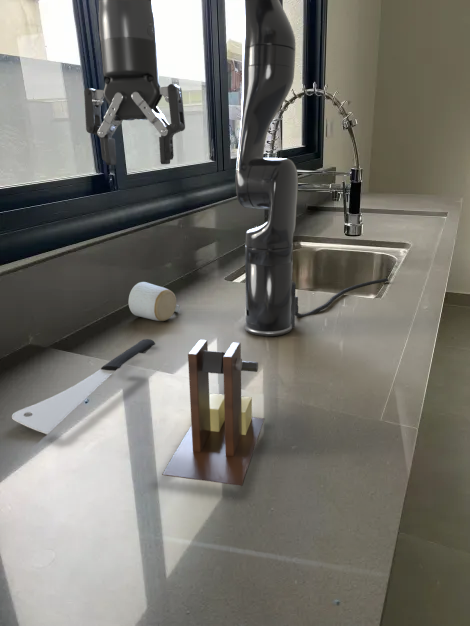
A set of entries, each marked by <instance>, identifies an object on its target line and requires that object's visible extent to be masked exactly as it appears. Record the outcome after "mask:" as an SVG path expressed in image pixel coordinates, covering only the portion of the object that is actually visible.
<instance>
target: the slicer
mask: <svg viewBox="0 0 470 626" xmlns="http://www.w3.org/2000/svg"><path fill="white" fill-rule="evenodd" d="M208 345H209V344H208V340H207V339H199V340H198V341H197V342H196V344H194V345H193V347H192V348H191V349H190V350H189V352H188V353H187V364H188V382H189V383H188V385H189V402H190V403H189V404H190V405H189V406H190V417H191V418H190V420H191V425H190V426H189V428H188V430H187V431H186V434H185V435H184V436H183V438H182V440H181V442H180V443H179V445H178V446H177V448H176V450H175V452H174V453H173V455H172V457H171V458H170V460H169V461H168V464H167V465H166V467H165V469H164V470H163V472H162V473H161V475H162V476H167V477H174V478H175V477H176V478H182V479H189V480H197V481H198V480H199V481H204V482H212V483H218V484H226V485H233V486H243V483H244V481H245V478H246V474H247V472H248V470H249V466H250V463H251V461H252V457H253V454H254V452H255V448H256V446H257V444H258V439H259V437H260V434H261V430H262V427H263V425H264V421H265V418H264V417H263V418H262V417H256V416H252V420H251V422H250V425H249V427H248V430H247V433H246V435H242V411H241V396H242V371H241V369H242V361H243V358H242V351H241V350H242V349H241V348H242V346H241V345H242V344H241V342H237V341H232V342H231V344H230V346H229V347H228V348H227V350H226V351H225V352H224V353H225V355H224V356H223V370H224V374H223V395H224V409H225V421H224V423H223V425H222V427H221V429H220V431H219V432H215V431H211V427H210V400H209V393H210V378H209V376H210V375H209V374H210V373H206V372H202V366H203V355H204V351H209V350H208V348H209V346H208Z"/></svg>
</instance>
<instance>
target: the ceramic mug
mask: <svg viewBox="0 0 470 626" xmlns="http://www.w3.org/2000/svg"><path fill="white" fill-rule="evenodd" d="M128 307H129V311H130V312H131V313H132V315H134V316H136V317H141V318H143V319H147V320H148V319H149V320H153V321H157V322H164V321H165V322H166V321H168V320H170V318H172V317H173V315H174V313H179V312H180V309H181V308H180V307H181V306H180V305H179V304H177V298H176V295H175V293H174V292H173V291H172V290H170V289H169V288H167V287H164V286H159V285H156V284H153V283H150V282H146V281H140V282H138V283H136V284H135V285H134V286H133V287H132V289H131V290H130V292H129V296H128Z"/></svg>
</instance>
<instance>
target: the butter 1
mask: <svg viewBox="0 0 470 626" xmlns="http://www.w3.org/2000/svg"><path fill="white" fill-rule="evenodd" d="M209 400H210V427H211V431H215V432H219V431H220V429H221V427H222V425H223V423H224V421H225V409H224V394H220V393H211V392H209Z"/></svg>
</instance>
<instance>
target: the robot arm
mask: <svg viewBox="0 0 470 626" xmlns="http://www.w3.org/2000/svg"><path fill="white" fill-rule="evenodd" d="M153 5H154V4H153V0H98V28H99V31H98V32H99V33H98V36H99V39H100V40H99V41H100V51H101V62H102V74H103V78H104V88H103V89H95V88H91V87H87V88H85V89H84V91H83V98H84V99H83V100H84V116H85V117H84V119H85V131H86V132H87V133H88V134H92V135H95V136H97V137H98V138H99V140H100V151H101V159H102V160H103V161H104V162H105V165H106V166H116V165H117V162H118V161H117V151H116V140H115V138H113V136H114V134H115V132H116V130H117V128H119V126H121V124H122V123H123V121H134V120H140V121H149V123H151V124H152V125H153V126H154V127H155V129H156V131H157V132H158V133H159V134H160V136H158V144H159V161H160V165H170V164H171V161H172V160H173V159H174V156H175V155H174V154H175V153H174V135H176V134H178V133H181V132H184V131H185V129H186V120H185V111H184V100H183V91H182V87H181V86H180V85H177V84H174V83H170V84H168V85H167V86H161V85H160V81H159V77H160V75H159V61H158V60H159V59H158V42H157V40H158V39H157V26H156V25H157V24H156V18H155V12H154V6H153ZM243 9H244V10H243V15H244V16H243V42H242V69H241V70H242V72H241V73H242V75H241V77H242V81H241V82H242V84H241V85H242V88H241V89H242V91H241V92H242V93H241V115H240V116H241V119H240V129H239V139H238V147H237V148H238V149H237V156H236V157H237V158H236V165H235V166H236V168H235V181H234V184H235V194H236V198H237V201H238V203H239V204H240V206H242V207H243V208H245V209H253V210H254V209H255V210H269V214H268V218H267V221H265V222H264V223H263V224H261V225H258V226H254V227H251V228H249V229H247V230H246V231H245V233H244V234H245V235H244V257H245V258H244V260H245V263H244V264H245V268H244V269H245V270H244V271H245V272H244V273H245V308H244V314H245V323H244V325H245V326H244V327H245V330H246V332H248V333H249V334H252V335H255V336H260V337H261V336H262V337H277V336H283V335H286V334H288V333H290V332H291V331H292V330H293V329H294V328H295V327H296V318H304V317H308V316H312V315H315V314H318V313H319V312H322V311H323V310H324V309H327V308H328V307H329V306H331V304H332V303H333V302H334V301H335V300H337V299H338V298H340V297H341V296H343V295H344V294H346V293H348V292H351V291H353V290H356V289H359V288H363V287H364V288H365V287H367V286H371V285H372V286H373V285H376V284H380V283H386V282H389V278H388V277H385V278H381V279H375V280H370V281H366V282H362V283H359V284H355V285H352V286H349V287H346V288H344V289H342V290H340V291H339V292H337V293H336V294H334V295H333V296H332V297H331V298H330V299H328V301H327V302H325V303H324V304H322V305H321V306H318V307H317V308H315V309H313V310H311V311H309V312H306V313H300V312H299V297H298V296H297V295H296V290H297V289H296V285H297V284H296V282H295V281H293V264H294V262H293V259H294V257H293V256H294V255H293V254H294V236H295V231H296V223H297V222H296V220H297V206H298V204H297V203H298V193H299V174H298V170H297V165H296V164H295V162H294V161H293V160H292V159H289V158H282V157H279V158H278V157H264V154H265V145H266V140H267V136H268V132H269V130H270V127H271V125H272V123H273V121H274V120H275V117H276V116H277V114H278V112H279V111H280V109H281V108H282V105H283V104H284V102H285V100H286V99H287V97H288V95H289V93H290V91H291V89H292V86H293V83H294V79H295V69H296V68H295V66H296V65H295V64H296V36H295V33H294V30H293V27H292V25H291V23H290V22H291V21H290V20H289V17H288V16H287V13H286V12H285V10H284V8H283V5H282V3H281V1H280V0H243ZM163 97H164V101H165V102H166V103H168V107H169V117H170V123H169V122H168V120H167V119H166V117H165V115H164V113H162V111H161V110H160V108H159V107H158V105H159V103H160V101H161V100H162V98H163ZM104 100H105V101H106V103H107V104H108V106H109V107H108V108H107V110H106V112H105V114H104V115H103V117H102V108H101V106H102V105H103V104H104ZM102 118H103V119H102ZM102 120H103V121H102Z"/></svg>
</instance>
